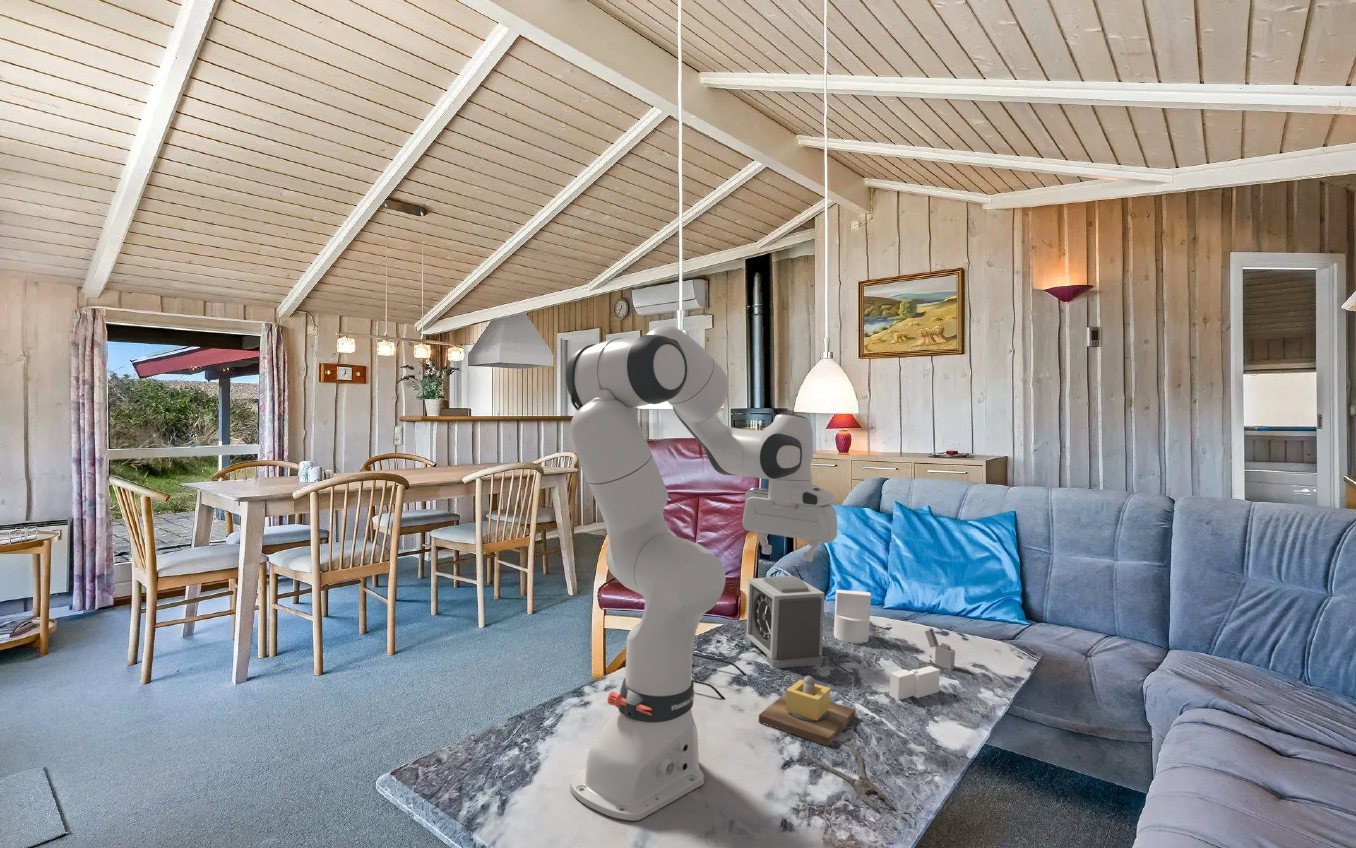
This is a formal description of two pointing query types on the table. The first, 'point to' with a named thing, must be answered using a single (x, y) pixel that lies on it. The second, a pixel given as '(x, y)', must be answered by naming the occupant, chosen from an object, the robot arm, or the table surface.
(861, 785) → the pliers
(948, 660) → the lighter
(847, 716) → the post stand
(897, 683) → the white stepped block
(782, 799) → the table surface
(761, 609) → the alarm clock
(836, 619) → the base with upright slab
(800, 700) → the block with square hole
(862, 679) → the table surface
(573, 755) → the table surface
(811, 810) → the table surface
